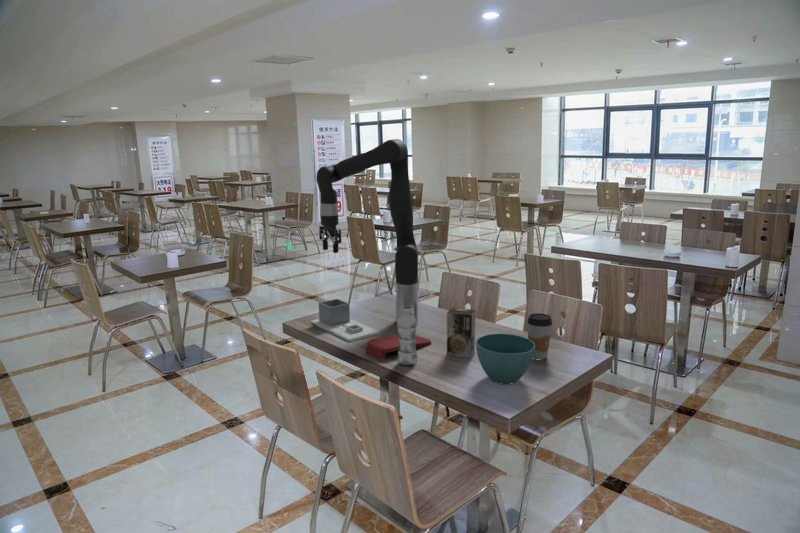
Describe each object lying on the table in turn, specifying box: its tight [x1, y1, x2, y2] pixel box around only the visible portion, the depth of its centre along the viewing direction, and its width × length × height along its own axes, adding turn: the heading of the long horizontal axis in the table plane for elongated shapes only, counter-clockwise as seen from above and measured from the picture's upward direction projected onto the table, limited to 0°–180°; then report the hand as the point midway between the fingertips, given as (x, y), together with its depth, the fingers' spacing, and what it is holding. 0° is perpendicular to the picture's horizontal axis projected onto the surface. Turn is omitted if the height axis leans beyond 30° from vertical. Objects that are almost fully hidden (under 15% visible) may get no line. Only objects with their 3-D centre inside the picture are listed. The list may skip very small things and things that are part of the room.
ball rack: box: [311, 298, 380, 342], centre depth 224 cm, size 29×14×9 cm, turn 38°
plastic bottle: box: [396, 306, 418, 366], centre depth 187 cm, size 6×7×20 cm
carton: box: [365, 334, 432, 361], centre depth 203 cm, size 12×5×25 cm
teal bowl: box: [475, 333, 535, 385], centre depth 175 cm, size 18×18×12 cm
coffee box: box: [446, 307, 476, 359], centre depth 196 cm, size 9×6×16 cm
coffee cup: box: [527, 312, 553, 360], centre depth 193 cm, size 8×8×15 cm
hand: (330, 251), depth 239 cm, fingers open, 8 cm apart
